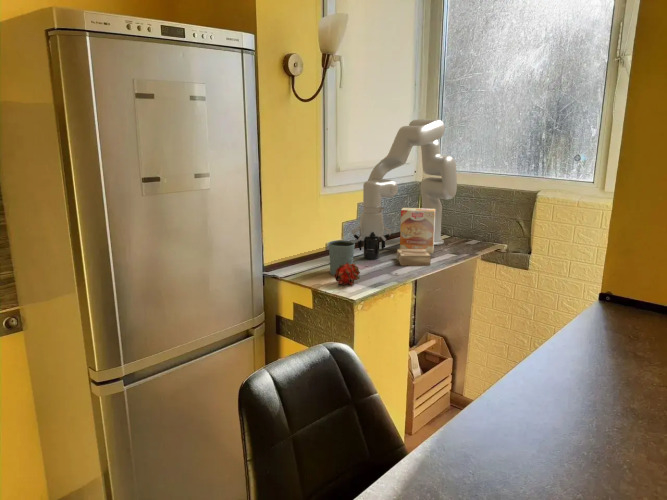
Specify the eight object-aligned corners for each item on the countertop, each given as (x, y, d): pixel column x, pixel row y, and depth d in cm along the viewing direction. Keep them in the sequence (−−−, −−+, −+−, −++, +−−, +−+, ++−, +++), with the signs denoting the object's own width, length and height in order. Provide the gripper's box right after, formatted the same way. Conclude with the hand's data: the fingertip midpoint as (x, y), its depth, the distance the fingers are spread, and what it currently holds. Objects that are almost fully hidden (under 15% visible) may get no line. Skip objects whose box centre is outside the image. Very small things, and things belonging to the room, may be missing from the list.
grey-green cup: (325, 270, 208) (325, 241, 205) (348, 268, 211) (348, 239, 208) (334, 277, 198) (334, 246, 195) (358, 274, 202) (358, 244, 199)
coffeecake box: (399, 252, 236) (400, 209, 232) (401, 248, 243) (402, 207, 238) (433, 254, 233) (434, 210, 228) (433, 250, 240) (435, 208, 235)
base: (396, 258, 226) (397, 248, 225) (424, 257, 226) (424, 248, 225) (401, 265, 214) (401, 255, 213) (430, 265, 215) (430, 255, 214)
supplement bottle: (368, 260, 222) (368, 233, 219) (360, 257, 228) (360, 230, 225) (382, 258, 225) (382, 231, 222) (374, 255, 231) (374, 228, 228)
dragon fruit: (359, 284, 195) (339, 296, 187) (343, 268, 198) (323, 280, 189) (368, 269, 190) (348, 281, 181) (352, 253, 192) (332, 265, 184)
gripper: (390, 208, 225) (390, 247, 229) (351, 209, 225) (350, 247, 229) (393, 211, 218) (392, 251, 222) (352, 212, 217) (352, 251, 222)
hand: (371, 249), depth 226 cm, fingers open, 9 cm apart
